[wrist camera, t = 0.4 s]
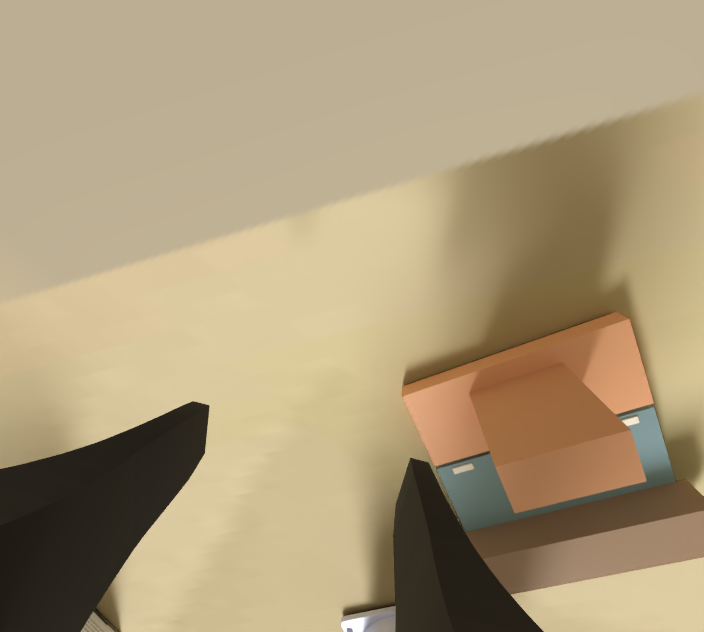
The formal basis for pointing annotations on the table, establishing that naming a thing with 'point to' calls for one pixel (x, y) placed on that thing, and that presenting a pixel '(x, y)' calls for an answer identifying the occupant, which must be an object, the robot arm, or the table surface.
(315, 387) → the table surface
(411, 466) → the robot arm
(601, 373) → the stepped pink slab
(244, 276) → the table surface
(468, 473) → the block
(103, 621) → the candy bar box
